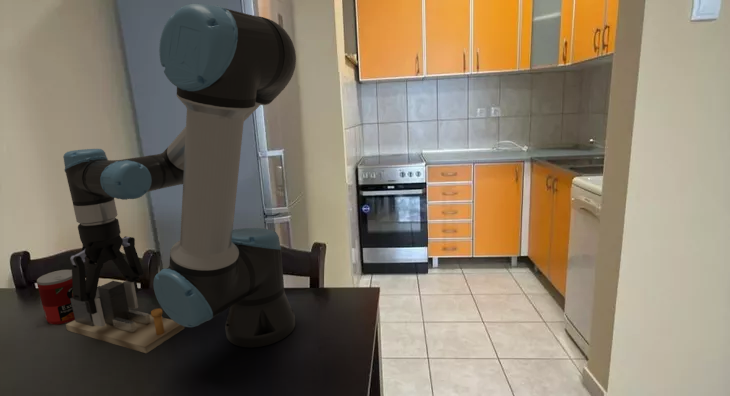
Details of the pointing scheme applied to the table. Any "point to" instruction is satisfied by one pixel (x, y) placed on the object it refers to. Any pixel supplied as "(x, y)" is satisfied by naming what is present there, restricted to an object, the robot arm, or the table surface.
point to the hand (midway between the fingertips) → (117, 315)
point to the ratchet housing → (82, 311)
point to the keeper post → (158, 320)
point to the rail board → (129, 334)
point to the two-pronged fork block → (119, 307)
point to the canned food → (57, 296)
